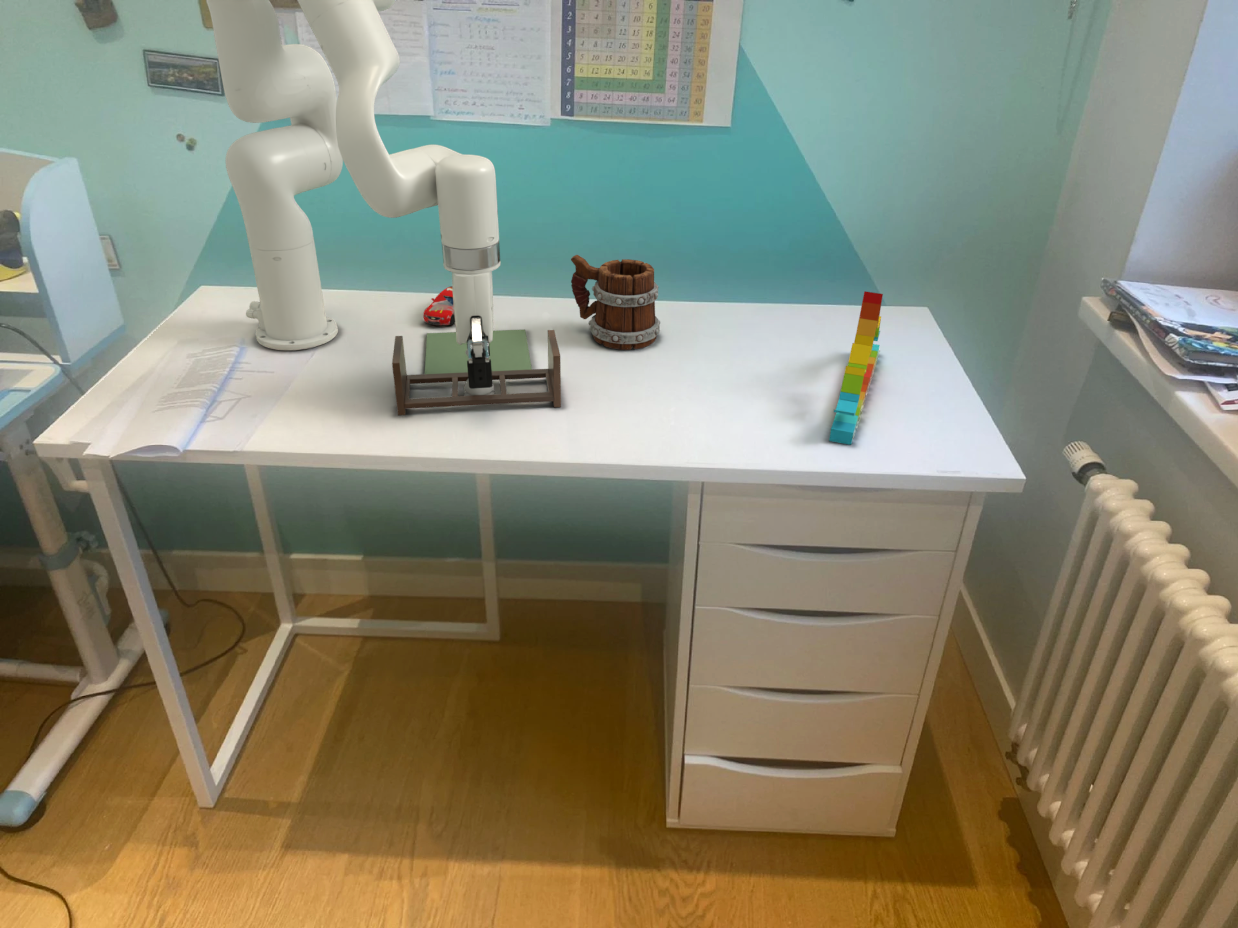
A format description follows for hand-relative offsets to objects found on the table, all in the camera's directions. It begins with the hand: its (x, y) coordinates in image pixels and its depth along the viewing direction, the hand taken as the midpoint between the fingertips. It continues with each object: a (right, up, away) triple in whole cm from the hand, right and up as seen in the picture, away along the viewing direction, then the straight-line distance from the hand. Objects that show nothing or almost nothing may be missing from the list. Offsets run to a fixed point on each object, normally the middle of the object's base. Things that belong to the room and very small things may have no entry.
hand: (479, 371), depth 130 cm
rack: (0, -3, +2) cm, 4 cm away
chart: (+55, -3, +6) cm, 55 cm away
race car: (-9, +13, +28) cm, 32 cm away
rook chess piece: (0, -3, +2) cm, 4 cm away
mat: (-3, +4, +14) cm, 15 cm away
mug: (+19, +8, +22) cm, 30 cm away
